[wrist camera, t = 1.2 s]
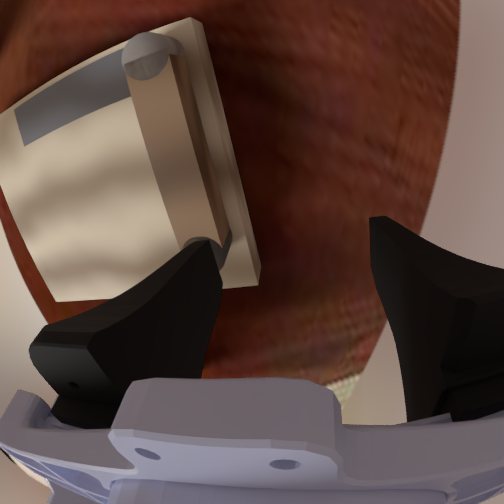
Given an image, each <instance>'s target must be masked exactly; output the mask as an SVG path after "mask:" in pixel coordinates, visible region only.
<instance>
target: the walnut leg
mask: <svg viewBox="0 0 504 504" xmlns="http://www.w3.org/2000/svg"><path fill="white" fill-rule="evenodd" d="M122 66H123V69H124V71H125V74H126V78H127V82H128V86H129V90H130V93H131V97H132V101H133V104H134V108H135V112H136V115H137V119H138V122H139V126H140V129H141V132H142V136H143V139H144V143H145V146H146V149H147V152H148V156H149V159H150V162H151V165H152V169H153V172H154V175H155V178H156V181H157V184H158V187H159V190H160V193H161V196H162V199H163V202H164V205H165V208H166V211H167V214H168V217H169V220H170V223H171V226H172V229H173V231H174V234H175V237H176V240H177V243H178V245H179V248H180V251H181V250H183V249H184V248H185V247H187V246H188V245H190V244H191V243H193V242H195V241H202V240H210V244H211V247H212V250H213V253H214V256H215V259H216V263H217V266H218V269H219V271H220V270H221V269H222V268H223V266H224V264H225V261H226V258H227V255H228V252H229V249H230V246H231V243H232V239H233V235H232V231H231V229H230V226H229V223H228V219H227V215H226V212H225V208H224V204H223V201H222V197H221V193H220V190H219V186H218V182H217V178H216V175H215V171H214V167H213V163H212V160H211V156H210V152H209V148H208V144H207V141H206V137H205V133H204V129H203V125H202V121H201V118H200V114H199V110H198V106H197V102H196V98H195V94H194V90H193V87H192V83H191V79H190V75H189V71H188V67H187V63H186V59H185V52H184V48H183V46H182V44H181V43H180V42H179V41H178V40H177V39H175V38H173V37H169V36H165V35H161V34H157V33H153V32H143V33H140V34H137V35H136V36H134V37H133V38H131V39H130V40H129V41H128V43H127V44H126V45H125V47H124V49H123V52H122Z"/></svg>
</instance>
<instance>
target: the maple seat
mask: <svg viewBox="0 0 504 504" xmlns="http://www.w3.org/2000/svg"><path fill="white" fill-rule="evenodd" d="M149 32H153V33H157V34H161V35H165V36H169V37H173V38H175V39H177V40H178V41H179V42H180V43H181V44H182V46H183V48H184V52H185V59H186V63H187V67H188V71H189V75H190V79H191V83H192V87H193V90H194V94H195V98H196V102H197V106H198V110H199V114H200V118H201V121H202V125H203V129H204V133H205V137H206V141H207V144H208V148H209V152H210V156H211V160H212V163H213V167H214V171H215V175H216V178H217V182H218V186H219V190H220V193H221V197H222V201H223V204H224V208H225V212H226V215H227V219H228V223H229V226H230V229H231V231H232V235H233V239H232V243H231V246H230V249H229V252H228V255H227V258H226V261H225V264H224V266H223V268H222V269H221V270H220V271H219V272H220V275H221V278H222V281H223V288H222V289H226V288H236V287H246V286H255V285H258V283H259V277H260V270H261V262H260V258H259V254H258V250H257V246H256V241H255V237H254V233H253V229H252V225H251V221H250V216H249V212H248V208H247V204H246V200H245V196H244V191H243V187H242V183H241V179H240V175H239V171H238V167H237V163H236V158H235V154H234V150H233V146H232V142H231V138H230V134H229V130H228V126H227V122H226V117H225V113H224V109H223V105H222V101H221V97H220V93H219V89H218V85H217V81H216V77H215V73H214V69H213V65H212V61H211V57H210V53H209V49H208V45H207V41H206V37H205V33H204V29H203V25H202V23H201V22H199V21H197V20H195V19H193V18H191V17H189V18H186V19H183V20H180V21H177V22H174V23H171V24H168V25H166V26H163V27H160V28H157V29H155V30H152V31H149ZM128 41H129V40H128ZM128 41H125V42H123V43H121V44H118V45H116V46H114V47H112V48H110V49H108V50H106V51H103V52H101V53H99V54H97V55H95V56H93V57H91V58H89V59H88V60H86V61H84V62H82V63H80V64H78V65H76V66H74V67H73V68H71V69H69V70H67V71H66V72H64V73H62V74H60V75H59V76H57V77H55V78H54V79H52V80H50V81H49V82H47V83H45V84H44V85H42V86H41V87H39V88H38V89H36V90H35V91H33V92H31V93H30V94H29V95H27V96H26V97H24V98H23V99H21V100H20V101H18V102H17V103H16V104H14V105H13V106H11V107H10V108H9V109H7V110H6V111H5V112H3V113H2V114H1V115H0V185H1V188H2V190H3V193H4V195H5V198H6V201H7V203H8V206H9V208H10V210H11V213H12V215H13V217H14V220H15V222H16V224H17V227H18V229H19V231H20V233H21V235H22V238H23V240H24V242H25V244H26V246H27V248H28V250H29V252H30V254H31V256H32V258H33V260H34V262H35V264H36V266H37V268H38V270H39V272H40V274H41V275H42V277H43V279H44V281H45V283H46V285H47V286H48V288H49V290H50V292H51V293H52V295H53V297H54V299H55V300H56V302H61V301H78V300H94V299H109V298H114V297H116V296H118V295H120V294H122V293H123V292H125V291H127V290H128V289H130V288H132V287H133V286H135V285H136V284H138V283H139V282H141V281H142V280H143V279H145V278H146V277H147V276H149V275H150V274H151V273H153V272H154V271H156V270H157V269H158V268H160V267H161V266H162V265H163V264H165V263H166V262H167V261H168V260H170V259H171V258H172V257H174V256H175V255H176V254H177V253H179V252H180V248H179V245H178V243H177V240H176V237H175V234H174V231H173V229H172V226H171V223H170V220H169V217H168V214H167V211H166V208H165V205H164V202H163V199H162V196H161V193H160V190H159V187H158V184H157V181H156V178H155V175H154V172H153V169H152V165H151V162H150V159H149V156H148V152H147V149H146V146H145V143H144V139H143V136H142V132H141V129H140V126H139V122H138V119H137V115H136V112H135V108H134V104H133V101H132V97H131V93H130V90H129V86H128V82H127V78H126V74H125V71H124V69H123V66H122V52H123V49H124V47H125V45H126V44H127V43H128Z"/></svg>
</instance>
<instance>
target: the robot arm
mask: <svg viewBox="0 0 504 504" xmlns="http://www.w3.org/2000/svg"><path fill="white" fill-rule="evenodd" d="M369 226H370V254H371V269H372V273H373V277H374V281H375V285H376V289H377V291H378V294H379V297H380V299H381V302H382V305H383V307H384V310H385V313H386V316H387V318H388V321H389V324H390V327H391V330H392V332H393V336H394V339H395V343H396V348H397V353H398V358H399V363H400V368H401V375H402V381H403V388H404V396H405V403H406V404H405V405H406V412H407V413H406V414H407V422H406V423H401V424H396V425H350V424H342V416H341V405H340V403H339V401H338V399H337V398H336V396H335V394H334V393H333V391H332V390H330V389H328V388H325V387H323V386H321V385H318V384H316V383H314V382H312V381H309V380H307V379H298V378H286V377H263V378H234V379H201V376H202V370H203V363H204V358H205V354H206V350H207V347H208V343H209V340H210V337H211V333H212V330H213V327H214V324H215V320H216V317H217V314H218V310H219V307H220V302H221V296H222V288H223V281H222V278H221V275H220V272H219V269H218V266H217V263H216V259H215V256H214V253H213V250H212V247H211V244H210V240H202V241H195V242H193V243H191V244H190V245H188V246H187V247H185V248H184V249H183V250H181V251H180V252H179V253H177V254H176V255H175V256H174V257H172V258H171V259H170V260H168V261H167V262H166V263H165V264H163V265H162V266H161V267H160V268H158V269H157V270H156V271H154V272H153V273H151V274H150V275H149V276H147V277H146V278H145V279H143V280H142V281H141V282H139V283H138V284H136V285H135V286H133V287H132V288H130V289H128V290H127V291H125V292H123V293H122V294H120V295H118V296H116V297H114V298H113V299H111V300H109V301H107V302H105V303H103V304H101V305H99V306H97V307H95V308H93V309H90V310H88V311H86V312H83V313H81V314H78V315H76V316H73V317H70V318H67V319H64V320H61V321H58V322H55V323H52V324H48V325H46V326H44V327H43V328H42V330H41V331H40V332H39V334H38V335H37V336H36V338H35V339H34V341H33V342H32V343H31V345H30V348H29V353H30V358H31V360H32V362H33V365H34V366H35V367H36V369H37V370H38V371H39V373H40V374H41V375H42V376H43V377H44V379H45V380H46V381H47V382H48V383H49V385H50V386H51V387H52V388H53V389H54V390H55V391H56V393H57V394H58V396H57V398H56V399H55V401H54V403H53V405H52V407H51V408H50V407H49V406H48V404H47V403H46V402H45V401H44V400H43V399H42V398H41V397H39V396H38V395H36V394H33V393H30V392H26V391H23V390H17V392H16V394H15V395H14V397H13V399H12V400H11V402H10V404H9V405H8V407H7V409H6V411H5V412H4V414H3V416H2V418H1V419H0V447H1V448H3V449H4V450H5V451H6V452H8V453H9V454H10V455H11V456H13V457H14V458H15V459H16V460H18V461H19V462H20V463H22V464H23V465H24V466H26V467H27V468H28V469H30V470H31V471H33V472H34V473H36V474H38V475H40V476H42V477H44V478H45V480H46V482H47V483H48V485H49V487H50V489H51V490H52V492H51V495H50V497H49V500H48V502H47V504H479V503H481V502H483V501H486V500H488V499H490V498H493V497H495V496H497V495H499V494H501V493H503V492H504V269H502V268H498V267H493V266H489V265H486V264H482V263H479V262H476V261H473V260H470V259H466V258H464V257H461V256H459V255H456V254H454V253H452V252H449V251H447V250H445V249H442V248H441V247H438V246H436V245H435V244H433V243H431V242H429V241H427V240H425V239H424V238H422V237H420V236H418V235H417V234H415V233H413V232H412V231H410V230H408V229H407V228H405V227H404V226H402V225H400V224H399V223H397V222H396V221H394V220H392V219H391V218H389V217H387V216H379V217H371V218H369Z"/></svg>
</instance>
